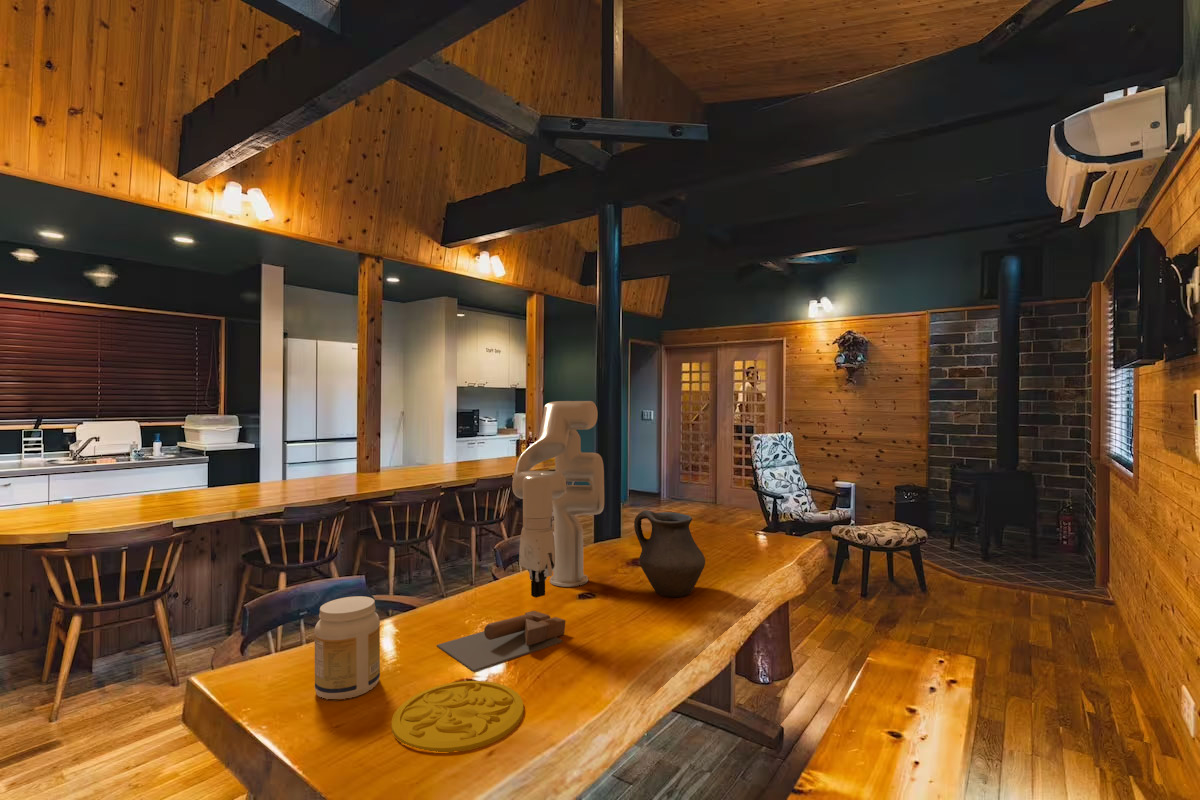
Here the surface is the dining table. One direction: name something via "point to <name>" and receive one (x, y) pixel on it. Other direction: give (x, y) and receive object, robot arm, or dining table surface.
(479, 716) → the decorative medallion
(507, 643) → the mat
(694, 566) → the pitcher
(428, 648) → the dining table surface
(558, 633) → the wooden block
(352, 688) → the supplement tub
